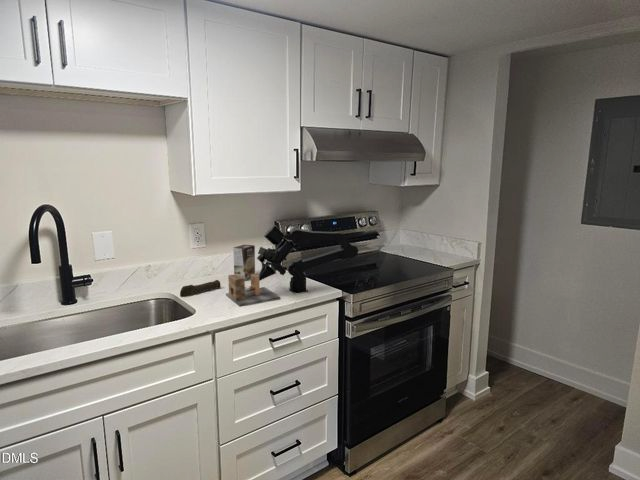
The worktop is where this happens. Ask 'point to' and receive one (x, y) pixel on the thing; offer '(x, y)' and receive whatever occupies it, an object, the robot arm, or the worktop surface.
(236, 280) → the wooden block on baseplate
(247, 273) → the coffee box
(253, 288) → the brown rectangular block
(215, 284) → the dark brown rounded bar
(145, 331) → the worktop surface
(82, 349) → the worktop surface
